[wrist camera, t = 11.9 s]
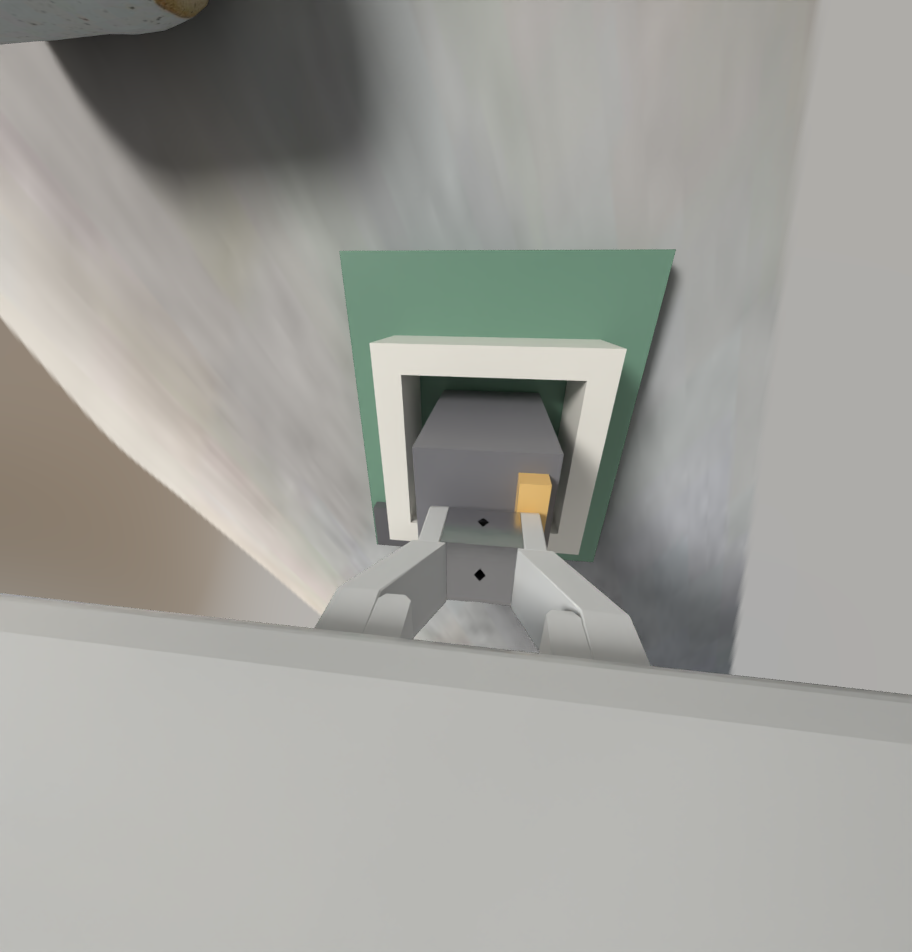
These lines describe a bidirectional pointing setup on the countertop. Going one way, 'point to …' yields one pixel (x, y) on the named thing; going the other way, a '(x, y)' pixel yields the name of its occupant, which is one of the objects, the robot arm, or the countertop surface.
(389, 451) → the board
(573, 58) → the countertop surface
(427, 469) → the plug
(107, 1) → the ceramic mug
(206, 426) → the countertop surface
